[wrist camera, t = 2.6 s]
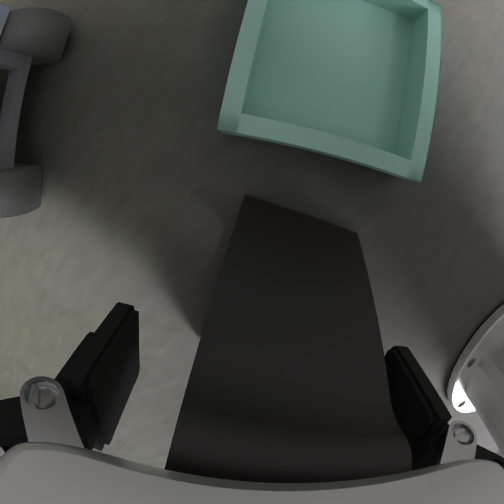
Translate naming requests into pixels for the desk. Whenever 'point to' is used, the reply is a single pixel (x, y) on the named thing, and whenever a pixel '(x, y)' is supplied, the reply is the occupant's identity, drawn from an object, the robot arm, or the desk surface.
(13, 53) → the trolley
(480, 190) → the desk surface
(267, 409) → the phone stand
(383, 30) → the tray
